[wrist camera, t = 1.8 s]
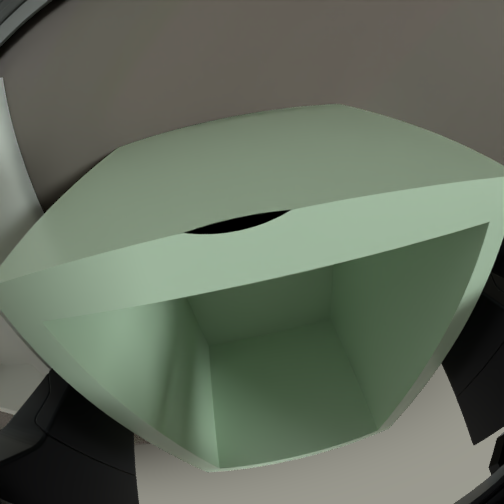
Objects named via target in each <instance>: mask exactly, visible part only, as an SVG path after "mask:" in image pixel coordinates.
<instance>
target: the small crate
mask: <svg viewBox="0 0 504 504" xmlns="http://www.w3.org/2000/svg"><path fill="white" fill-rule="evenodd" d="M503 237H504V166H503V165H501V164H499V163H498V162H496V161H494V160H492V159H490V158H488V157H486V156H484V155H483V154H481V153H479V152H477V151H475V150H472V149H470V148H468V147H466V146H464V145H462V144H460V143H457V142H455V141H453V140H450V139H448V138H446V137H443V136H441V135H438V134H436V133H433V132H431V131H428V130H426V129H423V128H420V127H417V126H415V125H412V124H409V123H406V122H403V121H400V120H397V119H394V118H391V117H387V116H384V115H380V114H377V113H373V112H370V111H366V110H362V109H358V108H354V107H350V106H346V105H342V104H327V105H314V106H302V107H293V108H284V109H276V110H269V111H262V112H256V113H250V114H244V115H238V116H233V117H228V118H223V119H218V120H213V121H209V122H204V123H200V124H196V125H192V126H188V127H184V128H180V129H176V130H172V131H169V132H165V133H162V134H158V135H155V136H152V137H148V138H145V139H142V140H139V141H136V142H133V143H130V144H127V145H124V146H121V147H118V148H117V149H116V150H114V151H113V152H112V153H110V154H109V155H108V156H107V157H105V158H104V159H103V160H102V161H101V162H99V163H98V164H97V165H96V166H95V167H93V168H92V169H91V170H90V171H89V172H88V173H86V174H85V175H84V176H83V177H82V178H81V179H80V180H78V181H77V182H76V183H75V184H74V185H73V186H72V187H71V188H70V189H69V190H68V191H67V192H66V193H64V194H63V195H62V196H61V197H60V198H59V199H58V200H57V201H56V202H55V203H54V204H53V205H52V206H51V207H50V208H49V209H48V210H47V211H46V213H45V214H44V215H43V216H42V217H41V218H40V219H39V220H38V221H37V222H36V223H35V224H34V225H33V227H32V228H31V229H30V230H29V231H28V232H27V233H26V235H25V236H24V237H23V238H22V239H21V240H20V242H19V243H18V244H17V245H16V247H15V248H14V249H13V250H12V251H11V253H10V254H9V255H8V257H7V258H6V259H5V261H4V262H3V263H2V264H1V266H0V310H1V311H2V312H3V314H4V315H5V316H6V317H7V319H8V320H9V321H10V323H11V324H12V325H13V326H14V327H15V329H16V330H17V331H18V332H19V333H20V335H21V336H22V337H23V338H24V339H25V340H26V341H27V343H28V344H29V345H30V346H31V347H32V348H33V349H34V350H35V351H36V352H37V353H38V354H39V355H40V357H41V358H42V359H43V360H44V361H45V362H46V363H47V364H48V365H49V366H50V367H51V368H52V369H54V370H55V371H56V372H57V373H58V374H59V375H60V376H61V377H62V378H63V379H64V380H65V381H66V382H68V383H69V384H70V385H71V386H72V387H73V388H74V389H76V390H77V391H78V392H79V393H80V394H81V395H83V396H84V397H85V398H86V399H88V400H89V401H90V402H91V403H93V404H94V405H95V406H96V407H98V408H99V409H100V410H102V411H103V412H104V413H106V414H107V415H109V416H110V417H111V418H113V419H114V420H116V421H117V422H118V423H120V424H121V425H123V426H124V427H126V428H127V429H129V430H130V431H132V432H133V433H135V434H137V435H138V436H140V437H141V438H143V439H145V440H146V441H148V442H150V443H151V444H153V445H155V446H157V447H158V448H160V449H162V450H164V451H165V452H167V453H169V454H171V455H173V456H175V457H177V458H179V459H181V460H183V461H185V462H187V463H189V464H191V465H193V466H195V467H197V468H199V469H201V470H204V471H206V472H218V471H229V470H238V469H246V468H253V467H259V466H265V465H271V464H276V463H281V462H286V461H291V460H295V459H299V458H304V457H308V456H311V455H315V454H319V453H322V452H326V451H329V450H333V449H335V448H338V447H342V446H345V445H348V444H351V443H354V442H356V441H359V440H362V439H365V438H367V437H370V436H372V435H375V434H377V433H380V432H382V431H385V430H387V429H389V428H390V426H392V425H393V423H394V422H395V421H396V420H397V419H398V418H399V417H400V416H401V414H402V413H403V412H404V411H405V410H406V409H407V408H408V406H409V405H410V404H411V403H412V402H413V400H414V399H415V398H416V397H417V395H418V394H419V393H420V392H421V390H422V389H423V388H424V386H425V385H426V384H427V382H428V381H429V380H430V378H431V377H432V375H433V374H434V373H435V371H436V370H437V369H438V367H439V366H440V364H441V363H442V361H443V360H444V358H445V357H446V355H447V354H448V352H449V351H450V349H451V347H452V346H453V344H454V343H455V341H456V339H457V338H458V336H459V334H460V333H461V331H462V329H463V327H464V326H465V324H466V322H467V320H468V318H469V316H470V315H471V313H472V311H473V309H474V307H475V305H476V303H477V301H478V299H479V297H480V295H481V292H482V290H483V288H484V286H485V284H486V281H487V279H488V277H489V274H490V272H491V270H492V267H493V265H494V262H495V260H496V257H497V254H498V252H499V249H500V246H501V243H502V240H503Z"/></svg>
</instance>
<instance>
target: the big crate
mask: <svg viewBox="0 0 504 504" xmlns="http://www.w3.org/2000/svg"><path fill="white" fill-rule="evenodd" d="M43 215H44V212H43V210H42V208H41V205H40V203H39V201H38V198H37V196H36V194H35V191H34V189H33V186H32V184H31V181H30V178H29V176H28V173H27V170H26V167H25V164H24V162H23V159H22V156H21V153H20V149H19V146H18V143H17V139H16V136H15V132H14V129H13V125H12V121H11V117H10V113H9V108H8V104H7V99H6V94H5V88H4V82H3V78H0V266H1V264H2V263H3V262H4V261H5V259H6V258H7V257H8V255H9V254H10V253H11V251H12V250H13V249H14V248H15V247H16V245H17V244H18V243H19V242H20V240H21V239H22V238H23V237H24V236H25V235H26V233H27V232H28V231H29V230H30V229H31V228H32V227H33V225H34V224H35V223H36V222H37V221H38V220H39V219H40V218H41V217H42V216H43ZM50 370H51V367H50V366H49V365H48V364H47V363H46V362H45V361H44V360H43V359H42V358H41V357H40V355H39V354H38V353H37V352H36V351H35V350H34V349H33V348H32V347H31V346H30V345H29V344H28V343H27V341H26V340H25V339H24V338H23V337H22V336H21V335H20V333H19V332H18V331H17V330H16V329H15V327H14V326H13V325H12V324H11V323H10V321H9V320H8V319H7V317H6V316H5V315H4V314H3V312H2V311H1V310H0V411H3V412H6V413H10V414H14V415H15V414H16V413H17V411H18V410H19V409H20V408H21V406H22V405H23V404H24V403H25V402H26V400H27V399H28V398H29V397H30V395H31V394H32V393H33V392H34V391H35V389H36V388H37V387H38V385H39V384H40V383H41V381H42V380H43V379H44V377H45V376H46V375H47V374H48V373H49V371H50Z"/></svg>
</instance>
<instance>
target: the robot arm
mask: <svg viewBox="0 0 504 504" xmlns="http://www.w3.org/2000/svg"><path fill="white" fill-rule="evenodd" d="M442 366H443V368H444V370H445V372H446V374H447V376H448V379H449V381H450V383H451V386H452V388H453V391H454V393H455V396H456V398H457V401H458V403H459V406H460V409H461V411H462V414H463V417H464V419H465V422H466V425H467V428H468V431H469V434H470V437H471V440H472V443H473V445H475V444H477V443H479V442H481V441H482V440H484V439H485V438H487V437H489V436H490V435H492V434H493V433H495V432H496V431H498V430H499V429H501V428H502V427H504V238H503V240H502V243H501V246H500V249H499V252H498V254H497V257H496V260H495V262H494V265H493V267H492V270H491V272H490V274H489V277H488V279H487V281H486V284H485V286H484V288H483V290H482V292H481V295H480V297H479V299H478V301H477V303H476V305H475V307H474V309H473V311H472V313H471V315H470V316H469V318H468V320H467V322H466V324H465V326H464V327H463V329H462V331H461V333H460V334H459V336H458V338H457V339H456V341H455V343H454V344H453V346H452V347H451V349H450V351H449V352H448V354H447V355H446V357H445V358H444V360H443V361H442ZM489 470H490V472H491V476H490V477H489V478H488V479H486V480H485V481H484V482H483V483H481V484H480V485H479V486H478V487H476V488H475V489H474V490H472V491H471V492H470V493H468V494H467V495H466V496H464V497H463V498H461V499H460V500H458V501H457V502H455V503H454V504H504V432H503V433H502V434H501V435H500V436H499V437H498V438H497V440H496V444H495V448H494V452H493V455H492V458H491V461H490V465H489ZM135 475H136V471H135V455H134V433H133V432H132V431H130V430H129V429H127V428H126V427H124V426H123V425H121V424H120V423H118V422H117V421H116V420H114V419H113V418H111V417H110V416H109V415H107V414H106V413H104V412H103V411H102V410H100V409H99V408H98V407H96V406H95V405H94V404H93V403H91V402H90V401H89V400H88V399H86V398H85V397H84V396H83V395H81V394H80V393H79V392H78V391H77V390H76V389H74V388H73V387H72V386H71V385H70V384H69V383H68V382H66V381H65V380H64V379H63V378H62V377H61V376H60V375H59V374H58V373H57V372H56V371H55V370H54V369H52V368H51V370H50V371H49V373H48V374H47V375H46V376H45V377H44V379H43V380H42V381H41V383H40V384H39V385H38V387H37V388H36V389H35V391H34V392H33V393H32V394H31V395H30V397H29V398H28V399H27V400H26V402H25V403H24V404H23V405H22V406H21V408H20V409H19V410H18V411H17V413H16V414H15V415H14V416H13V418H12V419H11V420H10V421H9V423H8V424H7V425H6V426H5V427H4V428H3V429H1V430H0V504H139V500H138V491H137V480H136V476H135Z"/></svg>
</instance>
